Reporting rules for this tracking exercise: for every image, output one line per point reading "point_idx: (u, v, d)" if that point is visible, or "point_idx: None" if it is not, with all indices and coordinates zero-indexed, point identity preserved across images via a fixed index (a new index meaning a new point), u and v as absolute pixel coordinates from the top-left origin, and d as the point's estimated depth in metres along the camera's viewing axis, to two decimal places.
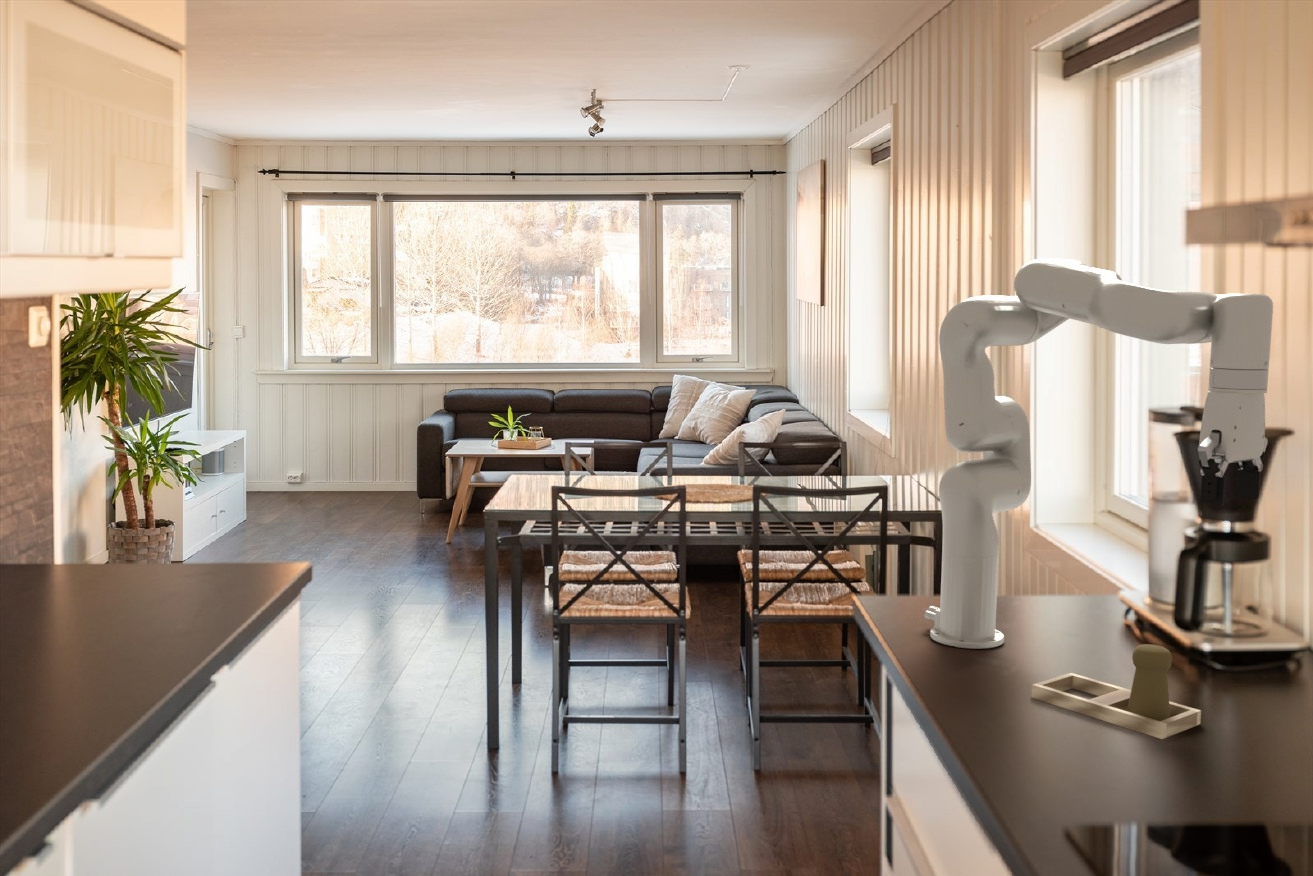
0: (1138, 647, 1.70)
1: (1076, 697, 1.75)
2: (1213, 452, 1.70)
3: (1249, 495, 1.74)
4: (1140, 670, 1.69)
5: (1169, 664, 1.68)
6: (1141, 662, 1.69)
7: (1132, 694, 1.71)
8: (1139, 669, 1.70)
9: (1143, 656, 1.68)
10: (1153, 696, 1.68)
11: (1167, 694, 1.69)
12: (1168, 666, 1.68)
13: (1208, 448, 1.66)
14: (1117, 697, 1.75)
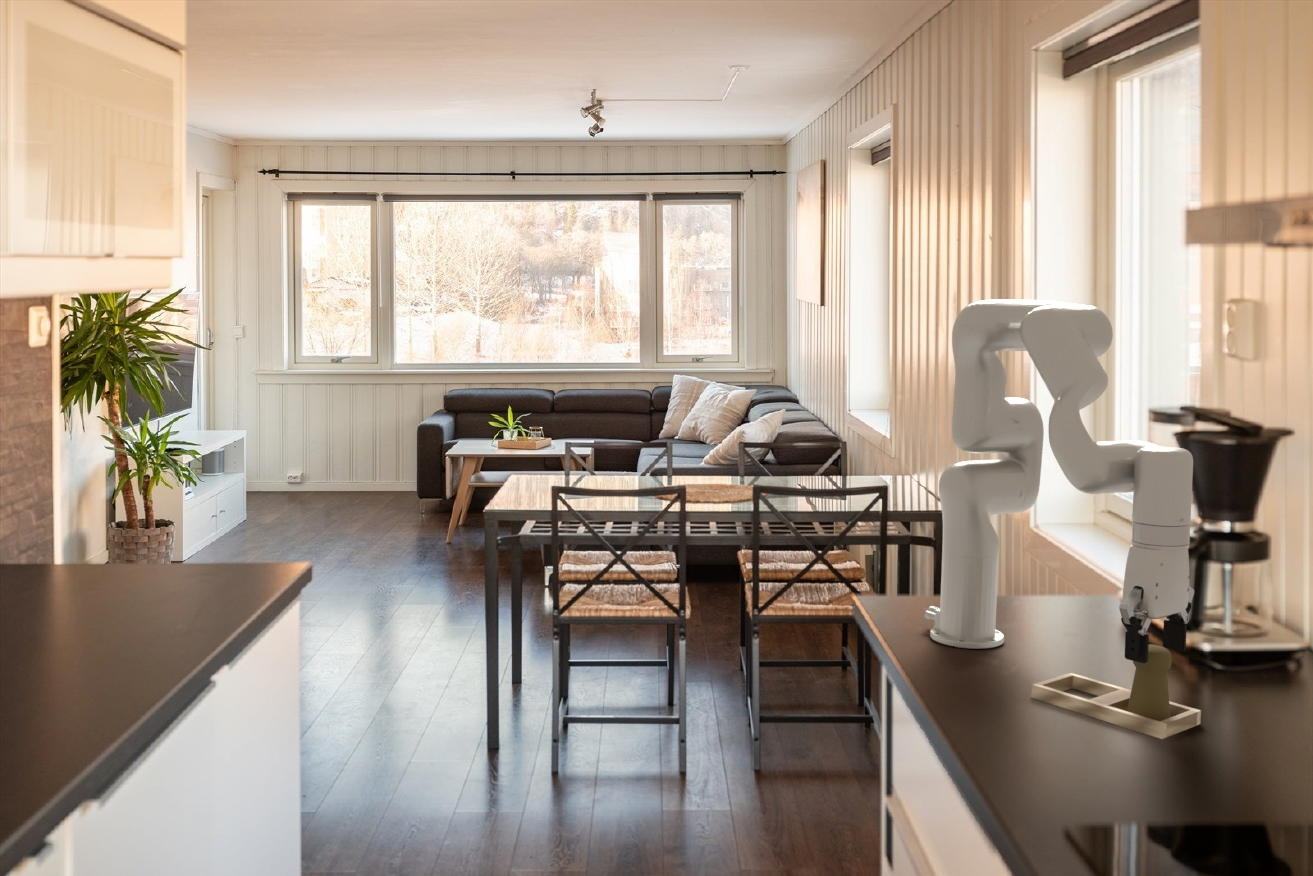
0: None
1: (1076, 697, 1.75)
2: (1136, 607, 1.68)
3: (1176, 647, 1.72)
4: (1140, 670, 1.69)
5: (1169, 664, 1.68)
6: None
7: (1132, 694, 1.71)
8: (1139, 669, 1.70)
9: None
10: (1153, 696, 1.68)
11: (1167, 694, 1.69)
12: (1168, 666, 1.68)
13: (1129, 607, 1.63)
14: (1117, 697, 1.75)
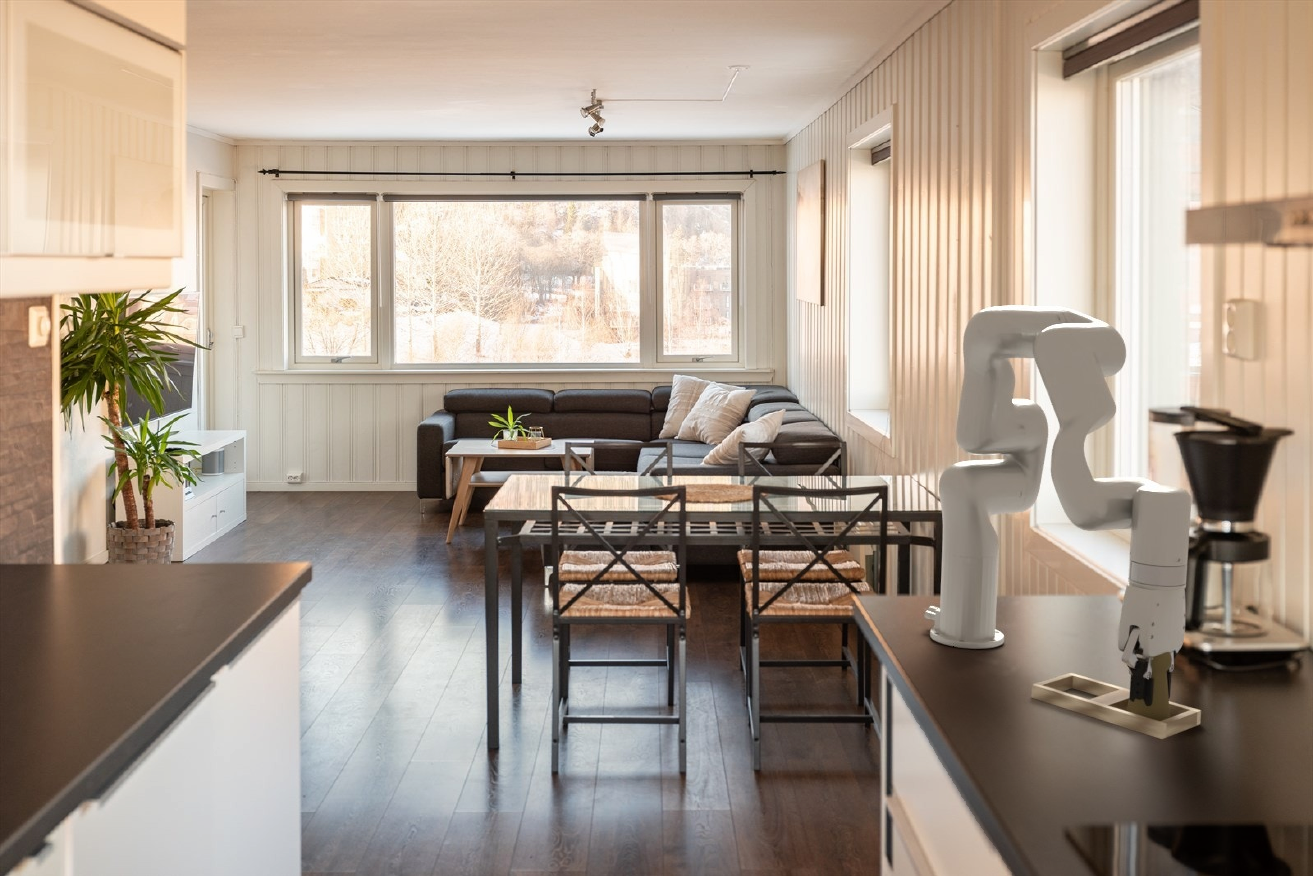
0: None
1: (1076, 697, 1.75)
2: None
3: None
4: None
5: (1169, 664, 1.68)
6: None
7: None
8: None
9: None
10: (1153, 696, 1.68)
11: (1167, 694, 1.69)
12: (1168, 666, 1.68)
13: (1131, 658, 1.66)
14: (1117, 697, 1.75)
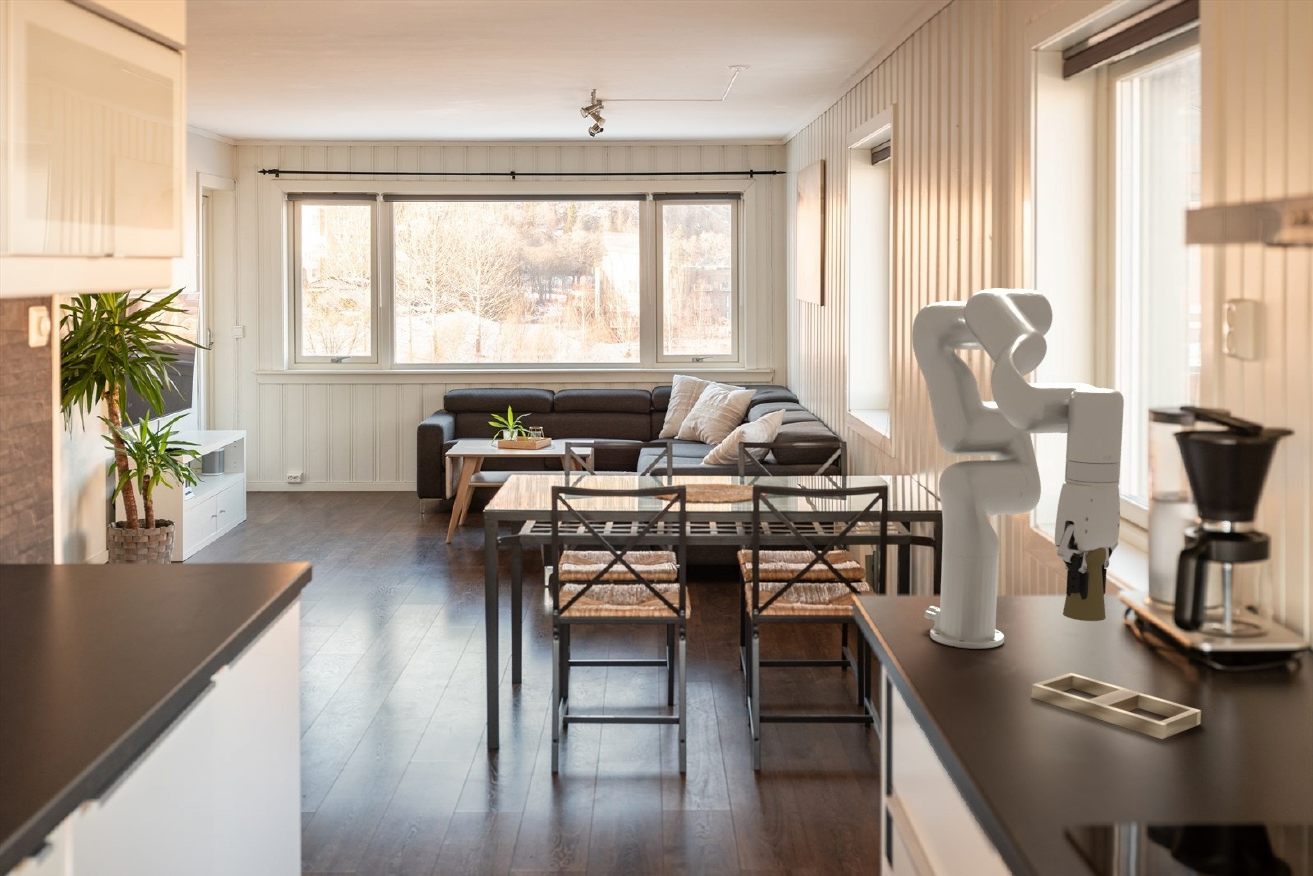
0: None
1: (1076, 697, 1.75)
2: (1072, 544, 1.76)
3: None
4: None
5: (1103, 559, 1.75)
6: None
7: None
8: None
9: None
10: (1088, 590, 1.75)
11: (1102, 588, 1.76)
12: (1102, 561, 1.75)
13: (1066, 552, 1.73)
14: (1117, 697, 1.75)
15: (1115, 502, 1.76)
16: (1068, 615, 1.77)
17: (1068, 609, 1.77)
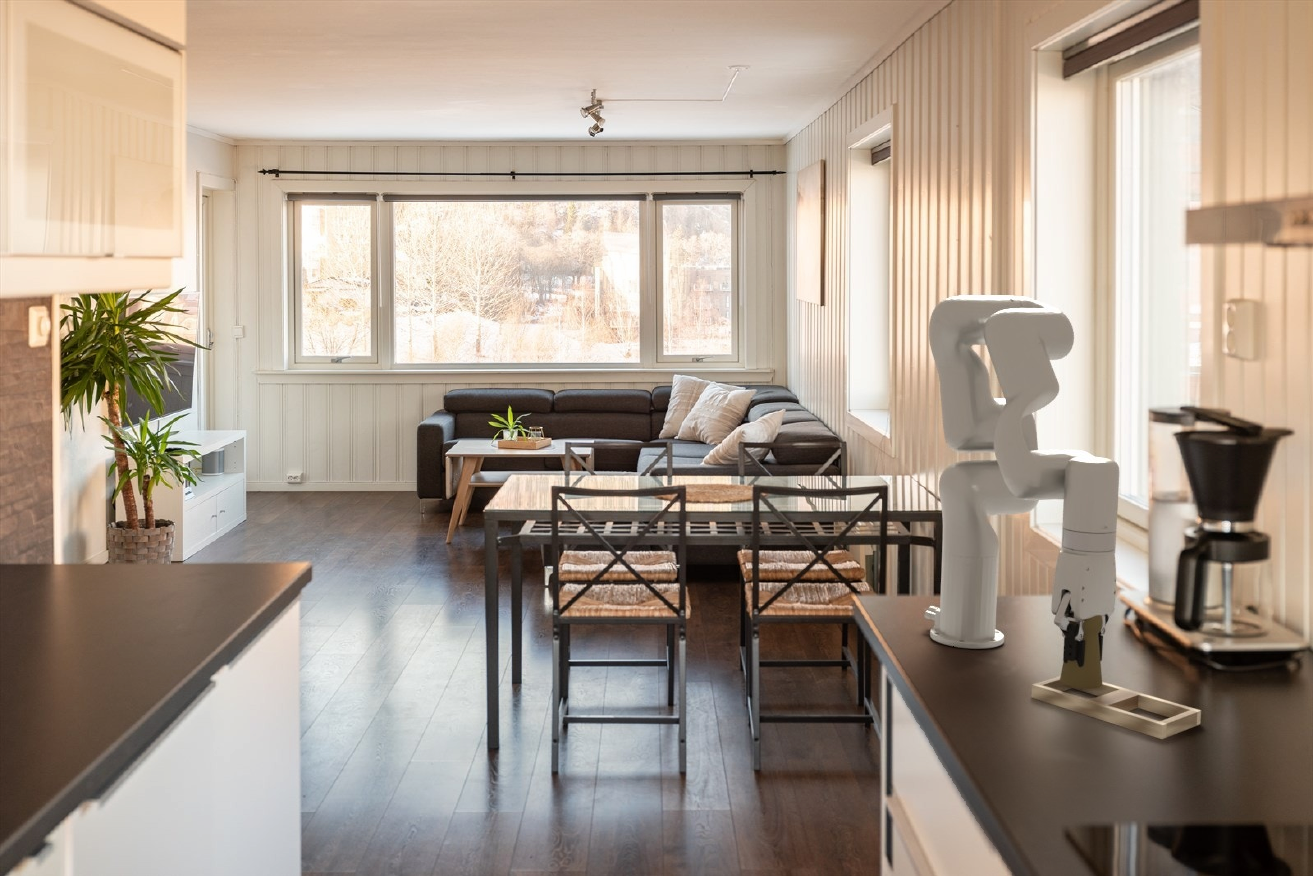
0: None
1: (1076, 697, 1.75)
2: None
3: None
4: None
5: (1100, 627, 1.77)
6: (1074, 624, 1.77)
7: None
8: None
9: None
10: (1085, 657, 1.77)
11: (1098, 655, 1.77)
12: (1099, 628, 1.76)
13: (1063, 620, 1.74)
14: (1117, 697, 1.75)
15: (1111, 570, 1.77)
16: (1065, 682, 1.78)
17: (1065, 676, 1.78)
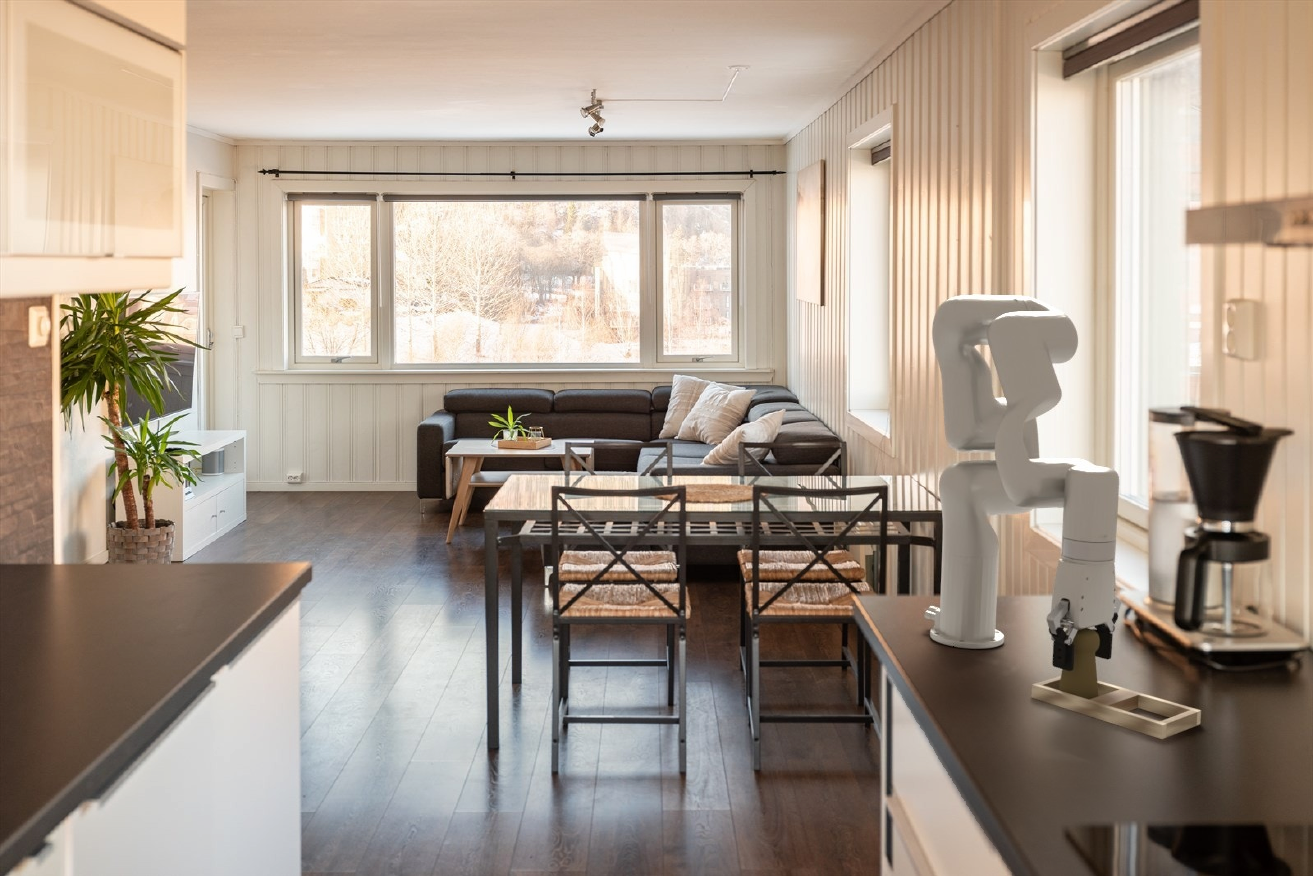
0: (1068, 629, 1.79)
1: (1076, 697, 1.75)
2: (1064, 618, 1.77)
3: (1102, 655, 1.81)
4: None
5: (1097, 645, 1.77)
6: (1071, 643, 1.77)
7: (1062, 674, 1.79)
8: None
9: None
10: (1082, 676, 1.77)
11: (1095, 674, 1.78)
12: (1096, 647, 1.77)
13: (1056, 618, 1.73)
14: (1117, 697, 1.75)
15: (1111, 579, 1.77)
16: None
17: None
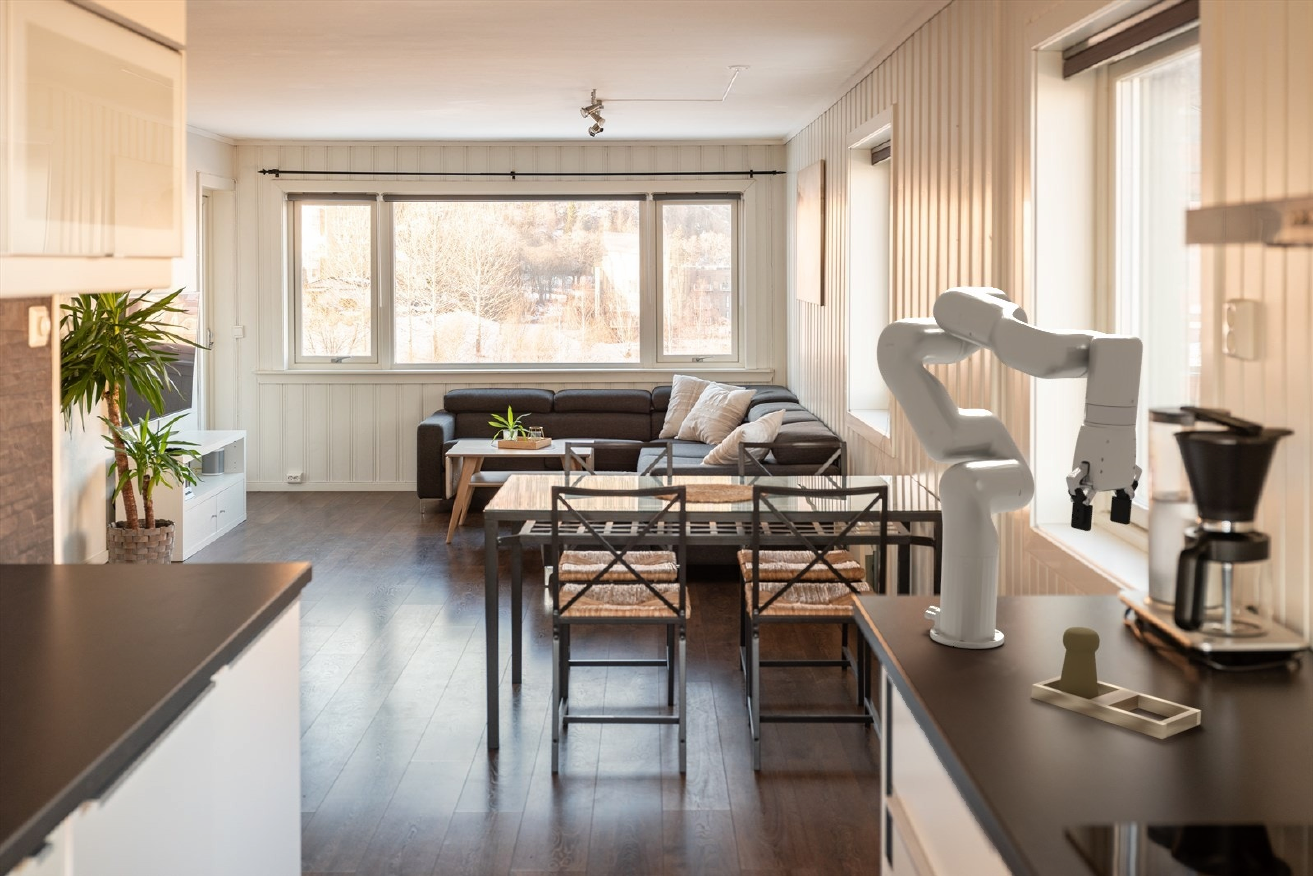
0: (1068, 630, 1.79)
1: (1076, 697, 1.75)
2: (1084, 481, 1.83)
3: (1121, 521, 1.87)
4: (1070, 651, 1.78)
5: (1097, 645, 1.77)
6: (1071, 643, 1.77)
7: (1062, 674, 1.79)
8: (1069, 651, 1.78)
9: (1072, 638, 1.77)
10: (1082, 676, 1.77)
11: (1095, 674, 1.78)
12: (1096, 647, 1.77)
13: (1075, 478, 1.79)
14: (1117, 697, 1.75)
15: (1131, 445, 1.83)
16: None
17: None
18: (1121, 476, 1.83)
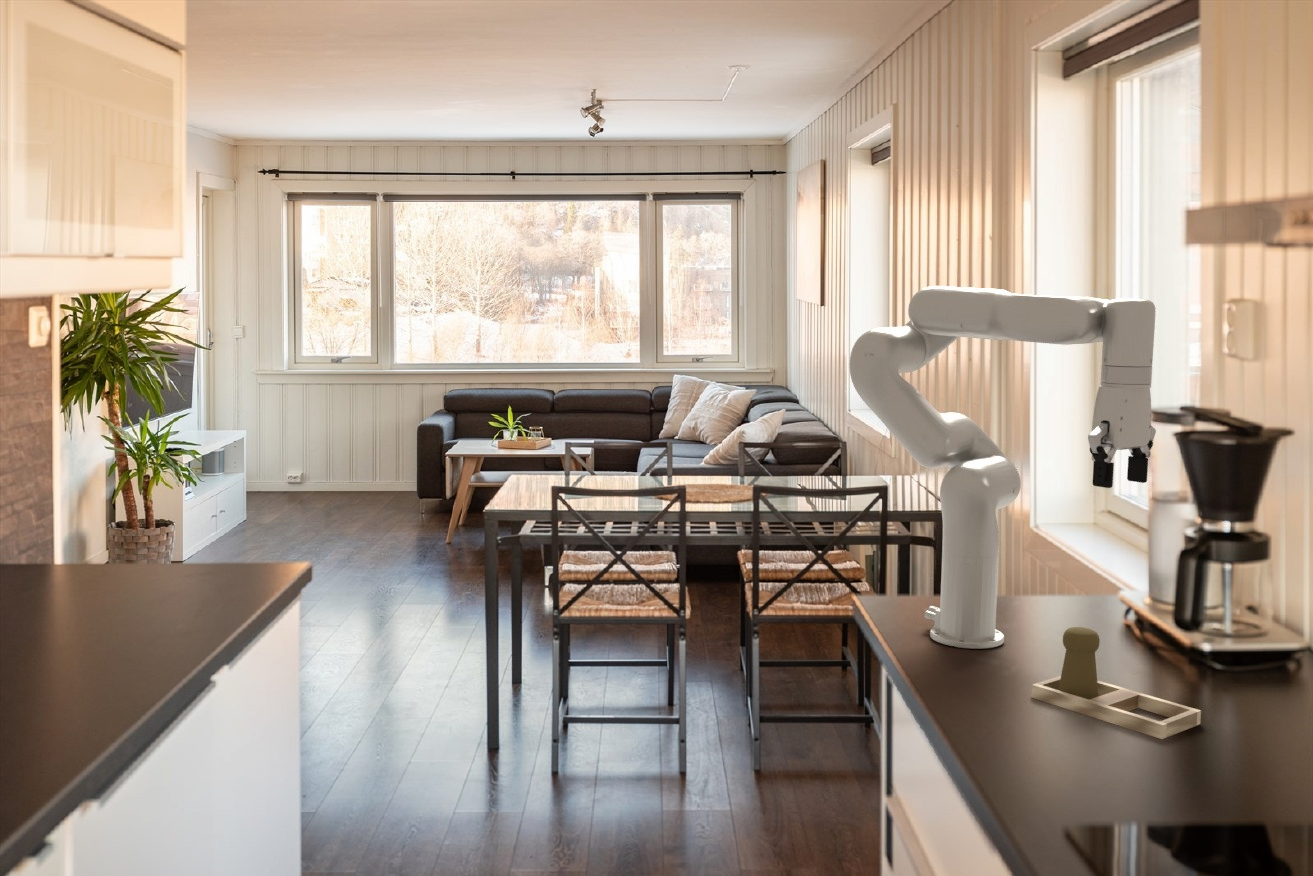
0: (1068, 629, 1.79)
1: (1076, 697, 1.75)
2: (1103, 440, 1.90)
3: (1138, 479, 1.94)
4: (1069, 651, 1.78)
5: (1097, 645, 1.77)
6: (1071, 643, 1.77)
7: (1062, 674, 1.79)
8: (1069, 651, 1.78)
9: (1072, 638, 1.77)
10: (1082, 676, 1.77)
11: (1095, 674, 1.78)
12: (1096, 647, 1.77)
13: (1097, 437, 1.86)
14: (1117, 697, 1.75)
15: (1147, 404, 1.91)
16: None
17: None
18: (1138, 435, 1.90)
